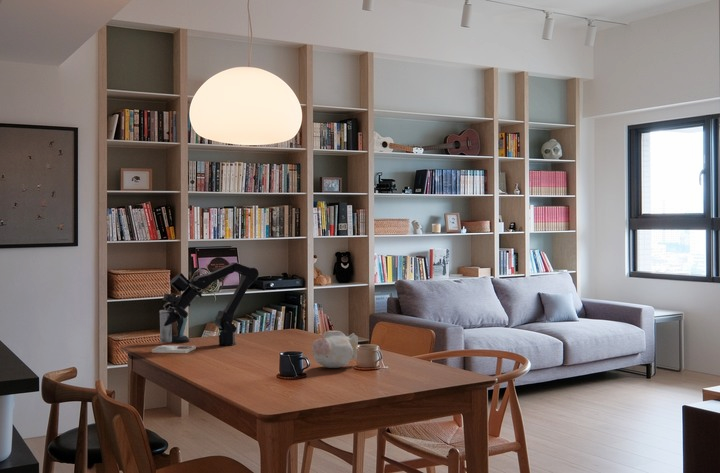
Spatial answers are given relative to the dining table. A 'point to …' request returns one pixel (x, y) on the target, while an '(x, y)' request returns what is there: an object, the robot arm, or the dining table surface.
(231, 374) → the dining table surface
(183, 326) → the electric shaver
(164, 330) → the metal tumbler
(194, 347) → the dial scale
